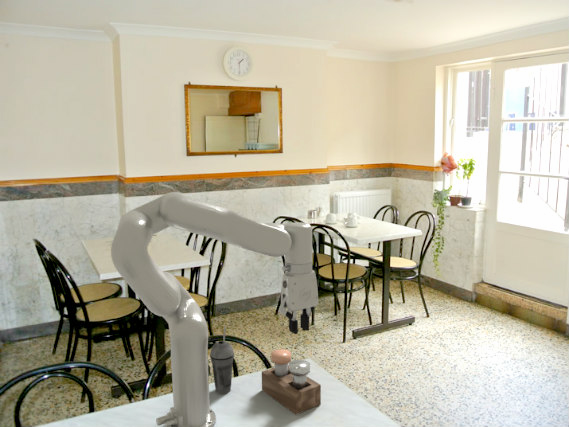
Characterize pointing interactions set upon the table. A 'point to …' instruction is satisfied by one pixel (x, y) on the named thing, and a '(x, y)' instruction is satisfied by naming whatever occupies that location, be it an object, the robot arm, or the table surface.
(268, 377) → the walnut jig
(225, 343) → the beverage cup
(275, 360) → the peach domed piece
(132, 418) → the table surface
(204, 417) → the robot arm
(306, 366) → the steel plug
